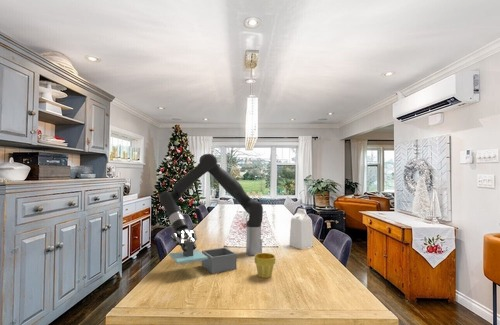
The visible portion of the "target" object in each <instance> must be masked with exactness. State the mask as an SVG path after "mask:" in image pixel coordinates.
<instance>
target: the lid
mask: <svg viewBox="0 0 500 325" xmlns="http://www.w3.org/2000/svg"><path fill="white" fill-rule="evenodd" d="M184 243H185V245H186V248H187V251H186V252H184V251H183V250H182V251H179V252H178V251H177V252H170V253H168V255H169V257H170V258H171V259H172V260H173V261H174V262H175V263H177V265H183V264H190V263H195V262H202V260H205V259H208V257H207V256H205V255H204V254H202V251H199V250H198V249H195V250H193V248H194V242H193V241H192V240H187V239H186V240H184Z"/></svg>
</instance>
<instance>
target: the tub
mask: <svg viewBox="0 0 500 325" xmlns="http://www.w3.org/2000/svg"><path fill="white" fill-rule="evenodd" d="M201 253H202V254H204V255H205V256H207V257H208V259H205V260H202V261H201V266H202V267H203V268H204V269H205V270H207V271H208V272H209V273H211V274H213V275H214V274H218V273H223V272H228V271H235V270H237V261H238V260H237V255H238V254H237V253H236V252H234V251H232V250H231V249H229V248H227V247H219V248H213V249H205V250H202V251H201Z"/></svg>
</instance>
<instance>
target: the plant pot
mask: <svg viewBox="0 0 500 325" xmlns="http://www.w3.org/2000/svg"><path fill="white" fill-rule="evenodd" d="M254 263H255V266H256V271H257V276H258V277H259V278H263V279H268V278H271V277H272V274H273V270H274V265H275V264H276V255H275V254H273V253H270V252H262V253H258V254H256V255H254Z"/></svg>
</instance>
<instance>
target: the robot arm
mask: <svg viewBox="0 0 500 325" xmlns="http://www.w3.org/2000/svg"><path fill="white" fill-rule="evenodd" d="M206 173H208V174H210V175H211V176H212V177H213V178H214V179H215V181H217V183H218V184H219V185H220V186H221V187H222V189H224V190H225V191H226V192H227V193H228V195H230V196H231V197H232V198H233V199H234V200H236V201H237V202H238V203H239V204H240V206H241V207H242V208H243V209H244V211H245V212H246V213H247V214H248V215H249V217H248V220H247V221H246V234H245V235H246V236H245V237H246V239H245V240H246V243H245V244H246V246H245V251H246V255H247V256H248V255H249V256H255V255H256V254H258V253H263V238H262V222H263V216H264V215H263V214H264V212H263V211H264V206H263V204H262V203H261V202H260V201H257V200H254V199H252V198H251V197H250V196H249V195H248V194H247V193H246V192H245V190H244V188H243V186H242V185H241V184H240V182H239V181H238V180H237V179H236V178H235V177H234V176H233V175H232V174H230V173H229V172H228V171H226V170H224V168H222V167H221V166H220V165H219V164H218V159H217V157H216V155H214V154H211V153H204V154H202V155H201V156H200V157H199V163H198V164H197V165H196V166H195V167H194V168H193V169H192V170H190V171H189V172H188V173H186V174H185V175H184V176H182V177H181V178H180V179H179V180H178V181H176V183H174V184H173V186H172V189H173V190H172V192H170V191H169V190H164V191H162V192H161V193H160V195H159V201H160V203H161V205H162V207H163V208H164V210H165V212H166V214H167V217H168V219H169V222H170V226H171V228H172V230H173V232H174V233H172V234H171V235H170V238H171V240H172V241H173V242H174V244H175V245H176V246H180V248H181V251H182V252H183V251H184V252H186V251H187V248H186V245H185V243H184V241H185V240H186V241H187V240H192V241H193V242H194V248H193V250H197V245H196V241H197V239H198V238H197V233H196V230H195V229H193V230H191V229H189V225H188V223H187V221H186V219H185V217H184V215H183V213H182V211H181V209H180V207H179V205H178V204H177V203H178V201H179V200H180V199H181V197H182V195H183V194H185V192H186V191H187V190H188V189H189V188H191V187H192V185H193V184H194V183H196V182H197V181H198V180H199V179H200V178H201V177H202V176H204V175H205V174H206Z"/></svg>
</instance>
